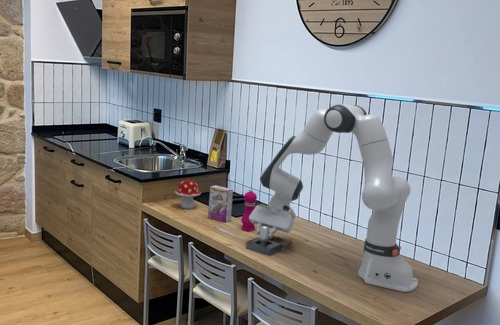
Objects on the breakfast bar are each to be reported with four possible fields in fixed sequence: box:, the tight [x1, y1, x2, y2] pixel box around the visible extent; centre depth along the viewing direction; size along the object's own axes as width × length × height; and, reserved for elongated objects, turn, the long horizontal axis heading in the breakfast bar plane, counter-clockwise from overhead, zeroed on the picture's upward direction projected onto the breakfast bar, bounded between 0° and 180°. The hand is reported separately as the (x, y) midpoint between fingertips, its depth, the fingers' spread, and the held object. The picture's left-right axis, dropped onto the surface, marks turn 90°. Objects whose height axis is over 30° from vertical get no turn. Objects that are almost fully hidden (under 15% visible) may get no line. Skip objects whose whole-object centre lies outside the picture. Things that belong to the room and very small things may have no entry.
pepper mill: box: [240, 188, 258, 232], centre depth 242 cm, size 7×7×20 cm
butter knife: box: [217, 228, 236, 237], centre depth 233 cm, size 1×24×3 cm
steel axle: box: [258, 225, 271, 246], centre depth 218 cm, size 4×4×9 cm
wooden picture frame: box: [269, 234, 293, 251], centre depth 227 cm, size 12×8×2 cm
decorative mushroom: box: [174, 179, 202, 210], centre depth 272 cm, size 14×14×15 cm
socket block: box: [245, 236, 281, 257], centre depth 219 cm, size 12×8×3 cm
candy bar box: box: [207, 184, 234, 223], centre depth 255 cm, size 11×5×16 cm, turn 58°
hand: (263, 235), depth 217 cm, fingers closed on steel axle, 4 cm apart
